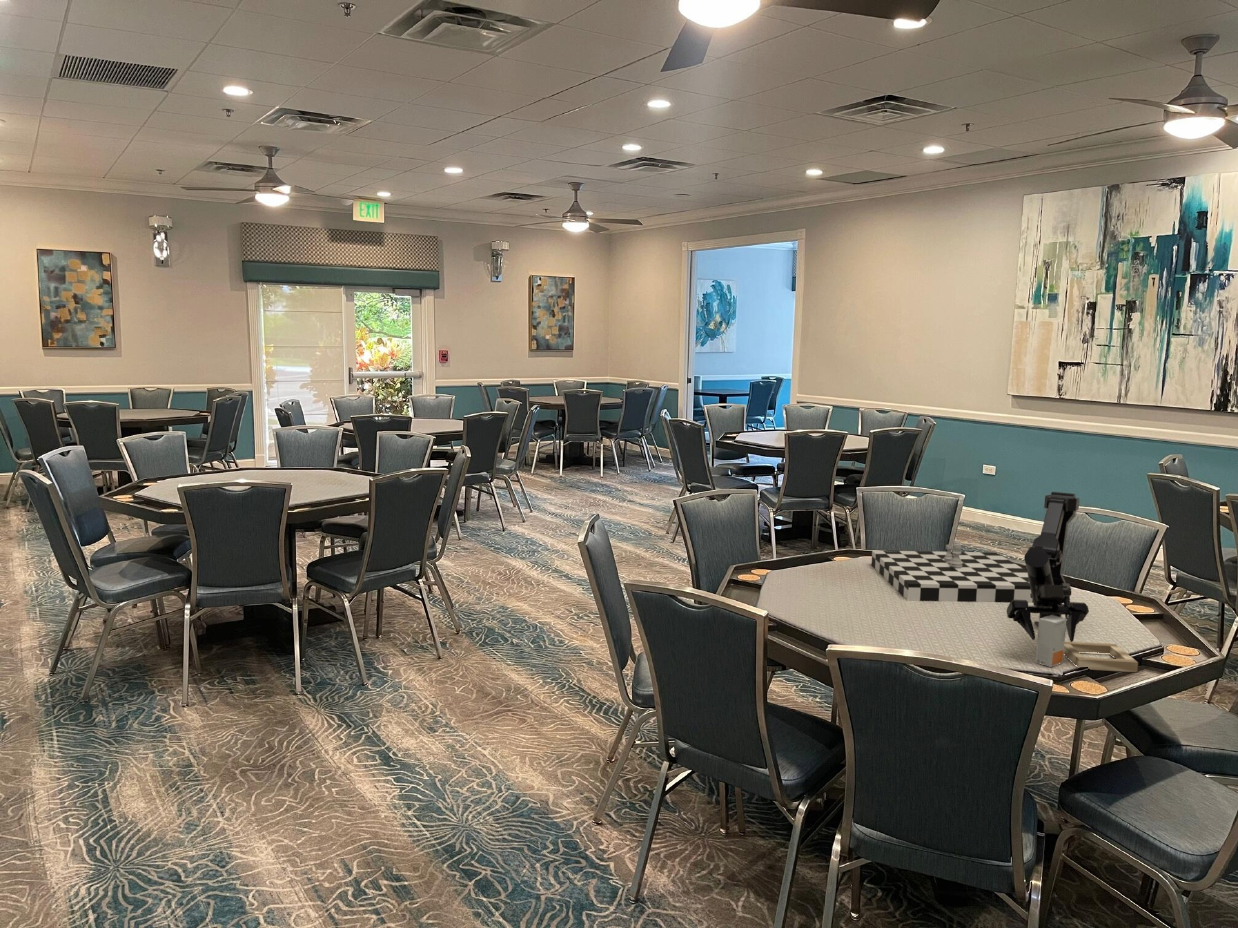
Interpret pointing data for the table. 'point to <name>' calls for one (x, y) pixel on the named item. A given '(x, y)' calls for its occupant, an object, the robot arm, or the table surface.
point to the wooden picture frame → (1118, 664)
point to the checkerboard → (953, 575)
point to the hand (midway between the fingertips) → (1053, 640)
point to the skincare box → (1050, 640)
